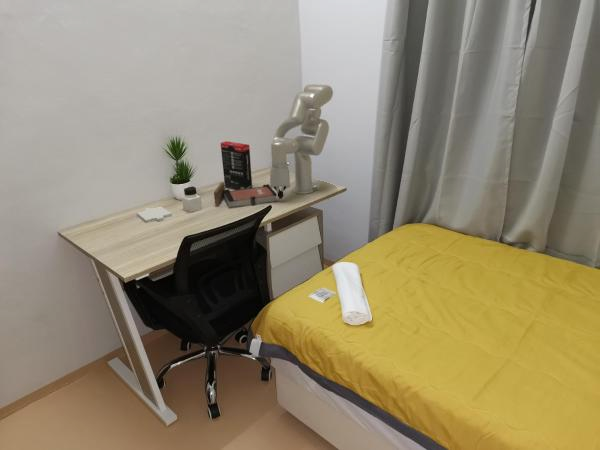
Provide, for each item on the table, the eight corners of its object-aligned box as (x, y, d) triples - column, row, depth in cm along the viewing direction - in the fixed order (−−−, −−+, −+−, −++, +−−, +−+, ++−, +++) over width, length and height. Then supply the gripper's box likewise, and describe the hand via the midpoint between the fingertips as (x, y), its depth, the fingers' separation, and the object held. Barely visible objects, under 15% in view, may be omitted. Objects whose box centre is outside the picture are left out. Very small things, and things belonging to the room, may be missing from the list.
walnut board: (225, 195, 227) (224, 182, 224) (218, 206, 212) (216, 192, 208) (222, 195, 227) (221, 182, 224) (215, 206, 212) (213, 192, 209)
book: (229, 209, 209) (228, 200, 207) (223, 198, 224) (223, 190, 222) (277, 202, 217) (277, 193, 214) (268, 192, 232) (268, 184, 230)
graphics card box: (253, 189, 237) (250, 143, 226) (246, 192, 231) (242, 146, 220) (231, 184, 245) (227, 140, 234) (223, 187, 240) (219, 142, 229)
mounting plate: (135, 214, 205) (134, 211, 204) (160, 208, 212) (159, 205, 211) (148, 225, 192) (147, 221, 191) (174, 218, 200) (173, 214, 199)
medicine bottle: (202, 208, 209) (199, 187, 204) (190, 212, 205) (187, 190, 200) (194, 205, 214) (191, 184, 209) (183, 209, 209) (179, 187, 204)
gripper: (293, 163, 211) (294, 195, 219) (265, 163, 212) (267, 195, 220) (293, 167, 205) (294, 200, 212) (264, 167, 205) (266, 200, 213)
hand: (280, 197), depth 216 cm, fingers closed
